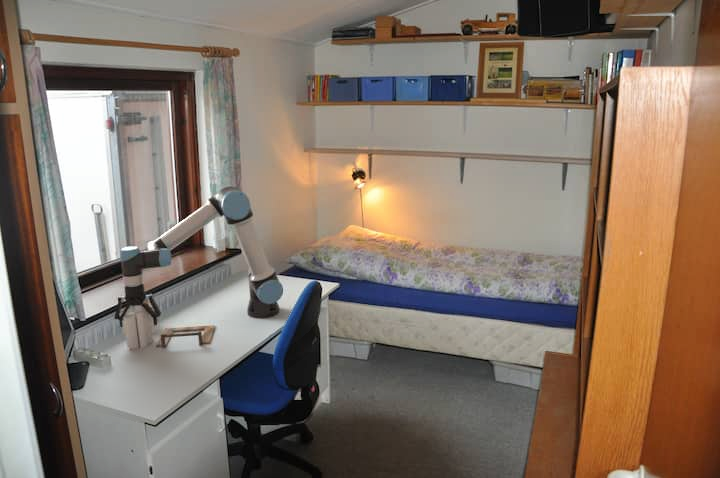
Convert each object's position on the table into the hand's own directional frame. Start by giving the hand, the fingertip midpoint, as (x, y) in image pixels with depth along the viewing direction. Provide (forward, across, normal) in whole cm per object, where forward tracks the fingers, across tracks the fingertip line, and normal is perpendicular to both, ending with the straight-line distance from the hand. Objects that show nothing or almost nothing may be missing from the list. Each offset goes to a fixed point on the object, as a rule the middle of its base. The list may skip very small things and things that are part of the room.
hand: (140, 332), depth 239 cm
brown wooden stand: (+5, -18, -4) cm, 19 cm away
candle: (+5, 0, 0) cm, 5 cm away
